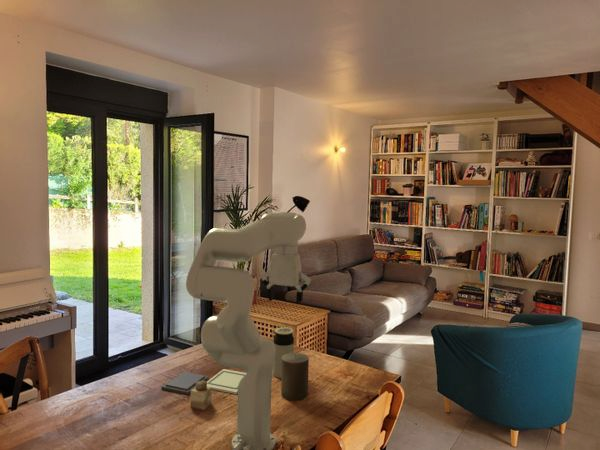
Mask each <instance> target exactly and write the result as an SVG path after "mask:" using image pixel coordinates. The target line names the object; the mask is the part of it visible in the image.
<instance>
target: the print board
mask: <svg viewBox="0 0 600 450" xmlns="http://www.w3.org/2000/svg"><path fill="white" fill-rule="evenodd" d="M245 375H246V372H243V371H237V370H233V369H226V368H223V369H221V370H220V371H219V372H218V373H216V374H215V375H214V376H213V377H211V378H210V379H208V380H207V381H206V382H207V386H209V387H212V391H213V390H214V391H220V392H223V393H227V394H234V395H238V384H239V382H240V380H241V379H242V378H243V377H244V376H245Z"/></svg>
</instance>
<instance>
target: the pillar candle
mask: <svg viewBox="0 0 600 450" xmlns="http://www.w3.org/2000/svg"><path fill="white" fill-rule="evenodd" d="M309 358H310V357H309V356H308V355H307V354H304V353H300V352H294V353H289V354H285V355H283V356H282V376H281V378H280V380H281V382H280V383H281V384H280V394H281V397H282V398H284V399H286V400H289V401H301V400H305V399H306V398H307V397H308V395H309V367H310V366H309V360H310V359H309ZM304 398H305V399H304Z"/></svg>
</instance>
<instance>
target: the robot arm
mask: <svg viewBox="0 0 600 450" xmlns="http://www.w3.org/2000/svg"><path fill="white" fill-rule="evenodd" d="M306 229H307V223H306V219H305V217H304V216H302V215H301V214H298V213H295V212H291V211H290V212H289V211H282V212H281V211H280V212H268V213H267V212H266V213H264V214H263V215H262V216H261V218H260V219H259V220H256V221H252V222H251V223H249V224H247V225H244V226H243V227H240V228H226V227H225V228H224V227H214V228H212V229H210V230H209V231H208V232H207V233H206V235H204V238H203V239H202V241H201V243H200V245H199V247H198V249H197V252H196V254H195V256H194V259H193V261H192V263H191V264H190V265H191V266H190V267H189V270H188V273H187V276H186V283H185V289H186V291H187V293H188V294H189V296H191V297H192V298H195V299H198V300H203V301H204V300H205V301H212V302H219V303H226V304H227V305H225V306H224V307H223V308H222V309H221V310H220V312H219V313H218V314H217V315H216V314H215V315H211V316H210V317H208V318H207V319H206V320H205V321H204V322H203V325H202V326H201V331H200V341H201V345H202V348H203V349H204V350H205V351H206V353H207V354H208V355H209V356H210V357H211V359H212V360H213V361H214V362H215V363H216V364H217V365H219V366H221V367H224V368H231V369H235V370H240V371H245V373H246V375H245V376H244V377H243V378H242V379H241V380H240V382H239V384H238V393H237V408H236V409H237V412H236V415H237V417H236V420H237V421H236V423H237V424H236V426H237V427H236V428H237V429H236V433H235V434H234V435H233V437H232V438H231V447H232V448H231V450H273V449H274V448H275V447H276V438H275V436H274V435H273V433H272V432H271V418H272V417H271V415H272V414H271V413H272V410H271V409H272V406H271V405H272V379H273V365H274V360H275V346H274V344H273V343H274V342H272V341H271V340H270V339H268V338H265V337H261V334H260V331H259V329H258V327H257V326H256V324H255V322H254V320H253V319H252V317H251V310H252V305H253V301H254V295H255V280H254V276H252V275H251V273H249V272H248V271H246V270H243V269H241V268H236V267H229V266H217V265H216V262H217V261H223V262H224V261H225V262H234V263H236V262H237V263H246V262H249V261H252V260H253V259H254V258H256V257H258V256H259V255H260V254H262V253H263V252H265V251H267V250H271V251H274V253H272V254H271V258H270V263H269V264H270V265H269V270H268V271H265V272H263V273H261V274H260V278H261V280H262V282H263V284H264V285H265V287H266V289H267V298H268V301H269V302H271V301H273V300H275V287H274V286H275V285H277V286H283V287H284V286H285V287H295V288H296V290H297V291H296V300H295V301H296V305H300V304H301V303H302V302H303V299H304V290H306V288H308V287H309V285H310V284H311V281H312V279H311V277H309V276H308V275H306V274H305V273H303V272H302V262H301V256H300V254H299V253H298V251H299V241H300V240H301V239H302V238H303V237H304V235H305V232H306ZM302 280H303V281H305V282H304V284H303V285H302Z"/></svg>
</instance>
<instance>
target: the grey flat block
mask: <svg viewBox="0 0 600 450" xmlns="http://www.w3.org/2000/svg"><path fill="white" fill-rule="evenodd" d="M208 380H210V379H209V376H208V375H203V374H199V373H192V372H189V371H183V372H182V373H180V374H178V375H177V376H175V377H174V378H172V379H170V380H169V381H168V382H166V383H165V384H163V385H162V386H161V390H163V391H168V392H173V393H178V394H181V395H191V390H192V389H193V388H195V387H196V382H198V381H206V382H207V381H208Z"/></svg>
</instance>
